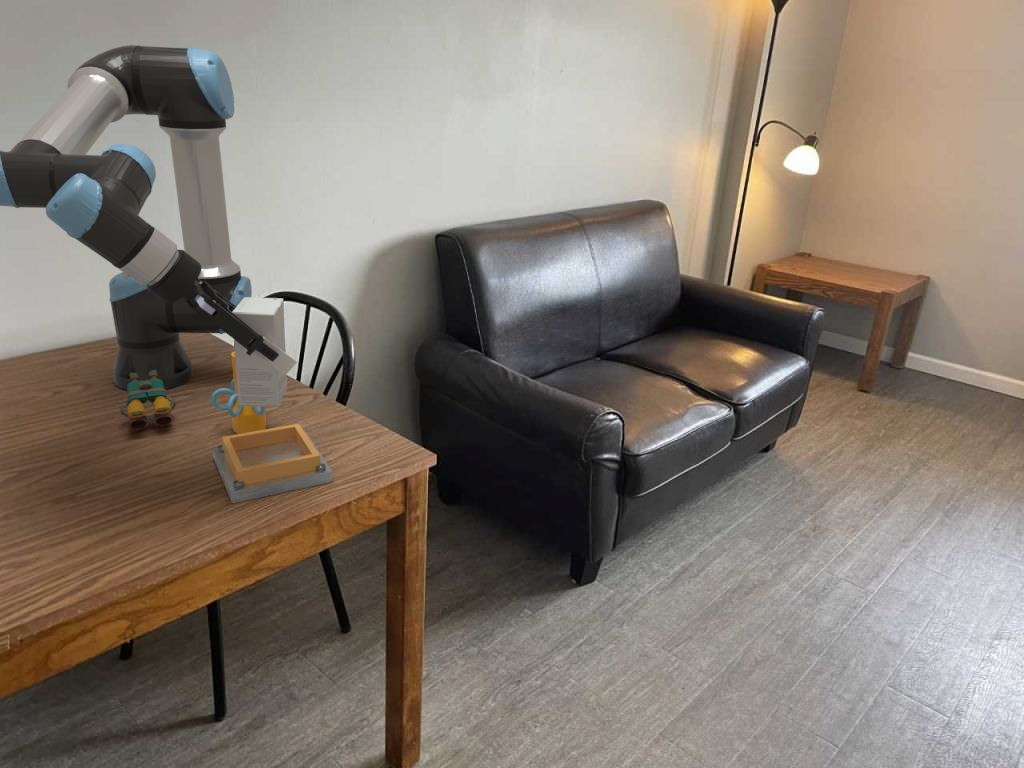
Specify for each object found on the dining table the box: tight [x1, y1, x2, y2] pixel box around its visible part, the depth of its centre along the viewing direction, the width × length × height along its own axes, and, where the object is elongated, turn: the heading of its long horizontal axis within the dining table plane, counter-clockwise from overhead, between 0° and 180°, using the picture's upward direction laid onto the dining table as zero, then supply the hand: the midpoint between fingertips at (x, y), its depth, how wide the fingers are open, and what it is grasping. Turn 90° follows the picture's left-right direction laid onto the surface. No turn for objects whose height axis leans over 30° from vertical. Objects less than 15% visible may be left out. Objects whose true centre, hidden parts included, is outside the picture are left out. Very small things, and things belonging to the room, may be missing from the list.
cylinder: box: [210, 350, 268, 434], centre depth 138 cm, size 12×10×15 cm
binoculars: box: [119, 370, 177, 431], centre depth 139 cm, size 9×9×10 cm
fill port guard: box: [221, 423, 321, 485], centre depth 126 cm, size 13×13×2 cm
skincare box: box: [232, 296, 288, 408], centre depth 119 cm, size 8×7×16 cm
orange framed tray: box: [212, 430, 334, 504], centre depth 126 cm, size 16×16×3 cm
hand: (282, 356), depth 120 cm, fingers closed on skincare box, 10 cm apart
